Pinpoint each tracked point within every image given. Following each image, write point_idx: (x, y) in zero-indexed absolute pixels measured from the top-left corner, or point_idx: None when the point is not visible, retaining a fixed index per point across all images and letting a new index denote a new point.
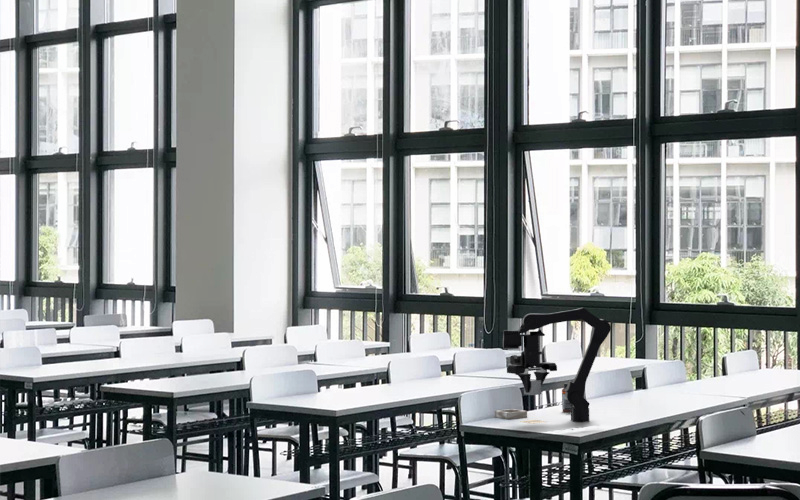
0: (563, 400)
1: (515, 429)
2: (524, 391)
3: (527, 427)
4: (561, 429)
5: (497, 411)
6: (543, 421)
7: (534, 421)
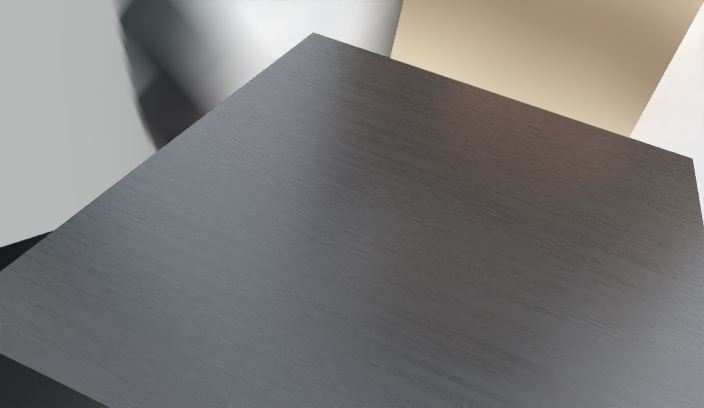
0: None
1: (214, 5)
2: (276, 84)
3: (387, 26)
4: None
5: None
6: None
7: (539, 34)
